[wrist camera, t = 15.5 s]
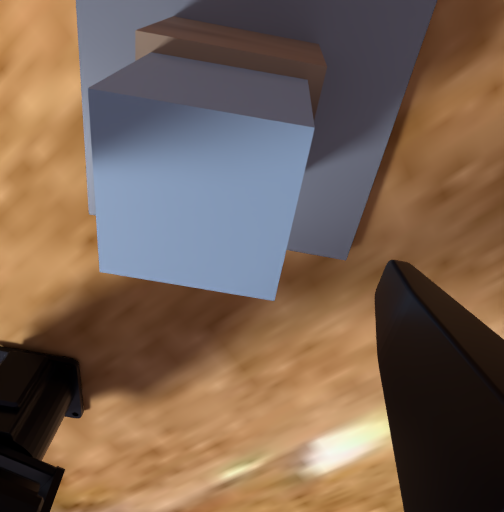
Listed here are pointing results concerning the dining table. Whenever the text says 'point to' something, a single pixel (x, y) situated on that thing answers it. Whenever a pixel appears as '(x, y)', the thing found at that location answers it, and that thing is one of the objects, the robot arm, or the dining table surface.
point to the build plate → (331, 98)
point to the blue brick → (198, 172)
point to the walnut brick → (235, 50)
